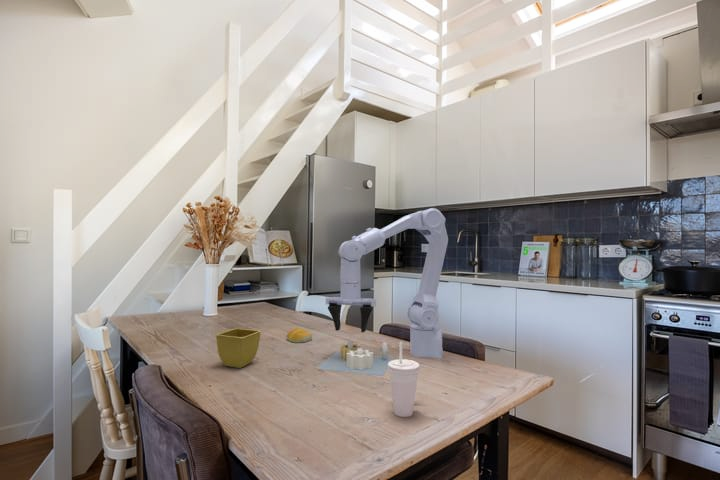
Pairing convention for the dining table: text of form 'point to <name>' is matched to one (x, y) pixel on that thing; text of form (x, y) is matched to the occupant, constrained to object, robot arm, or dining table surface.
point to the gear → (360, 360)
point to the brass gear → (346, 350)
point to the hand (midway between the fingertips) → (350, 330)
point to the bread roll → (299, 336)
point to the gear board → (377, 369)
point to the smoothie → (403, 384)
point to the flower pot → (238, 346)
